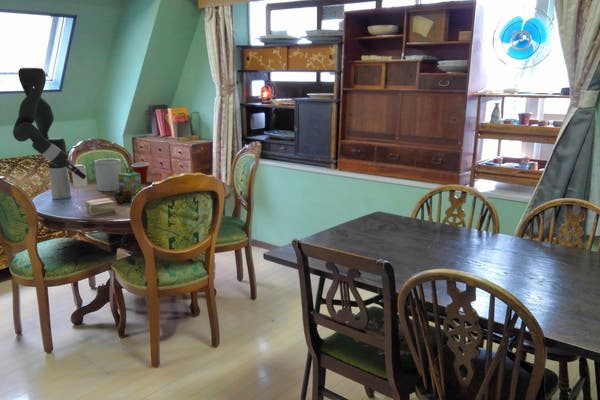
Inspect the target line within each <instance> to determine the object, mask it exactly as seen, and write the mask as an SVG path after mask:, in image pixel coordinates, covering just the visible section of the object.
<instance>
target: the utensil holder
mask: <svg viewBox="0 0 600 400" xmlns="http://www.w3.org/2000/svg"><path fill="white" fill-rule="evenodd" d="M121 162H122V160H121V159H120V158H110V157H108V158H100V159H95V160H94V168H95V176H96V185H97V190H98V191H101V192H114V190H117V189H119V182H118V174H122V167H121V165H122V163H121Z"/></svg>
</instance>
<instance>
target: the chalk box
mask: <svg viewBox="0 0 600 400" xmlns="http://www.w3.org/2000/svg"><path fill="white" fill-rule="evenodd" d="M129 170H130V171H129ZM118 182H119V188H128V189H129V190H131V191H132V193H133V195H136V194H138V193H137V192H139V191H140V190H141V191H142V183H141V176H140V173H135V172H134V170H133V167H126V169H125V172H121V174H118Z"/></svg>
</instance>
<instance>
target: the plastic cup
mask: <svg viewBox="0 0 600 400" xmlns="http://www.w3.org/2000/svg"><path fill="white" fill-rule="evenodd" d="M149 165H150V164H149V162H147V161H146V162H135V163H132V164H131V168H133V172H135V173H140V176H141V182H145V183H147V180H148V179H147V178H148V170H149Z"/></svg>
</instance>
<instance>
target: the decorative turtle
mask: <svg viewBox="0 0 600 400" xmlns="http://www.w3.org/2000/svg"><path fill="white" fill-rule="evenodd" d="M133 195H134V194H133V193H132V191H131V190H129V189H128V188H119V189H117V190H115V191H113V198H114V199H115V202H117V203H119V204H121V205H122V204H123V203H124V202H125V201H127V202H128V203H131V202H132V200H133Z"/></svg>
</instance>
